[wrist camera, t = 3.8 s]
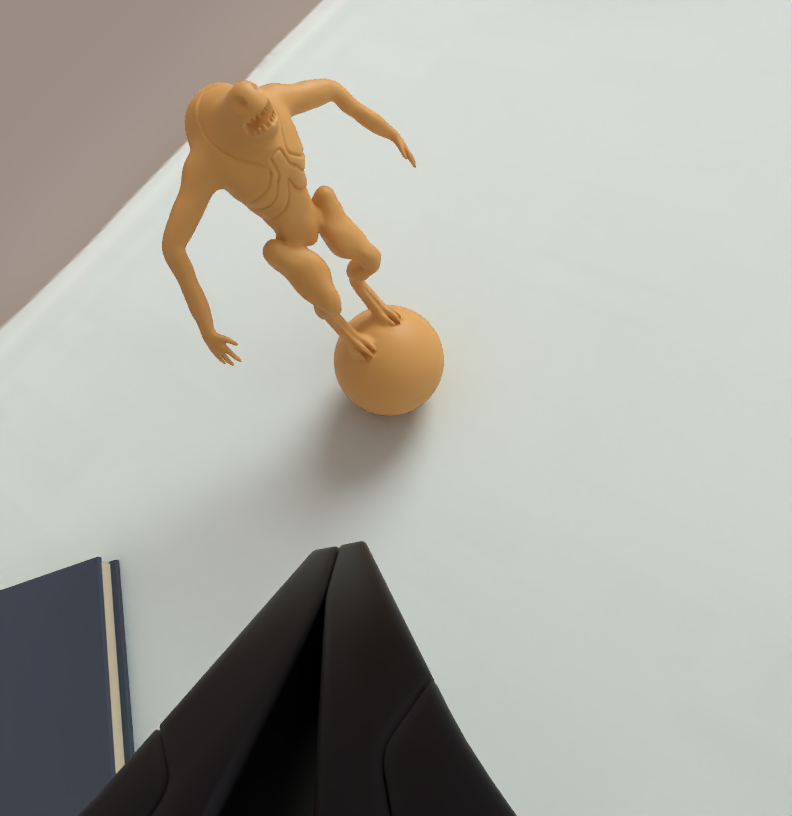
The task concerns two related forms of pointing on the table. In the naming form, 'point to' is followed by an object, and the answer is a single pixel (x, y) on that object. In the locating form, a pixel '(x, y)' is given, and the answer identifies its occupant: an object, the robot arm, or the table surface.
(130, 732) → the notebook
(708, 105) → the table surface
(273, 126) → the figurine
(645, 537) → the table surface
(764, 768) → the table surface
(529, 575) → the table surface
